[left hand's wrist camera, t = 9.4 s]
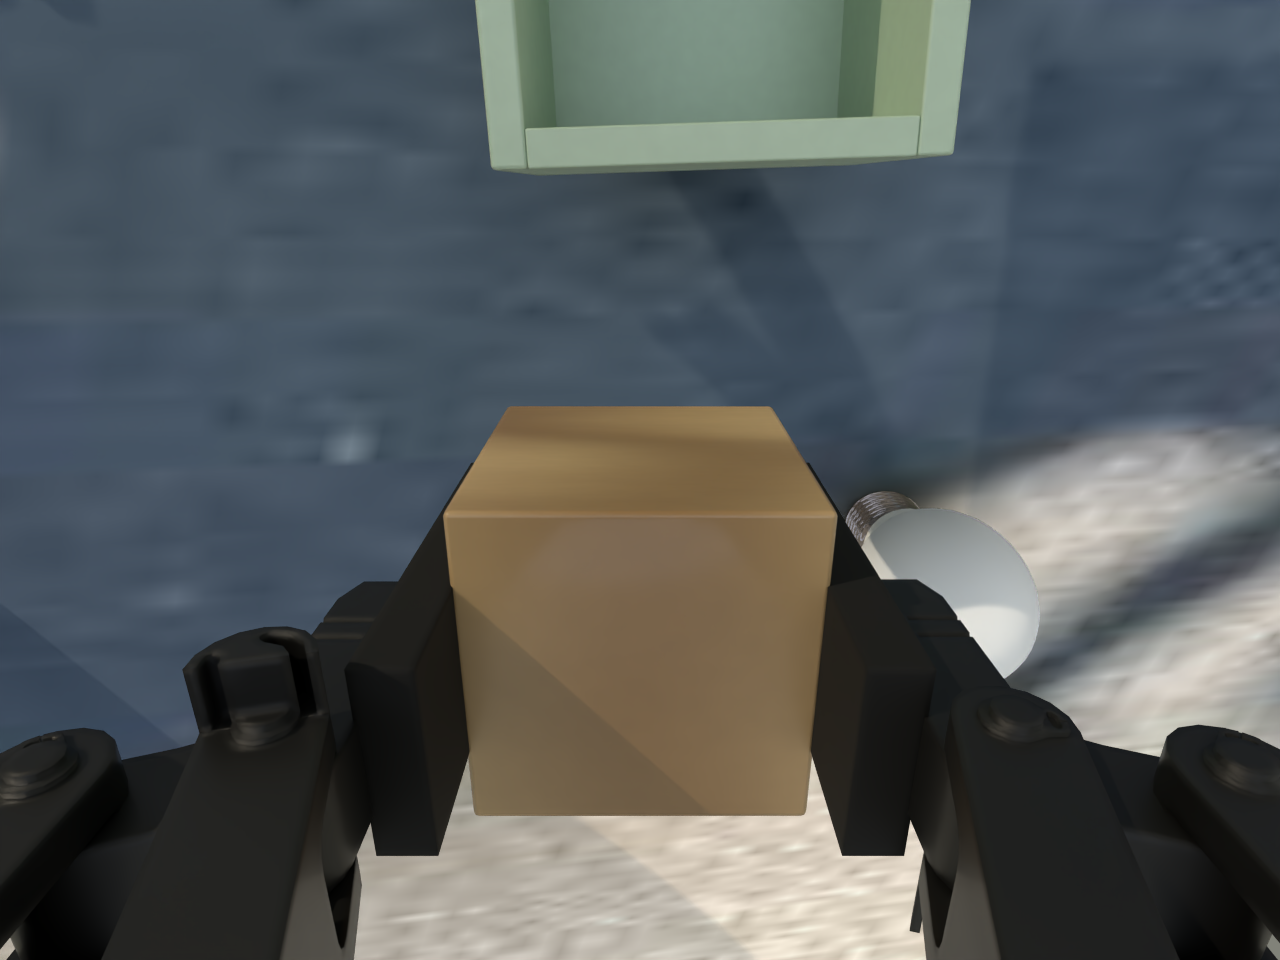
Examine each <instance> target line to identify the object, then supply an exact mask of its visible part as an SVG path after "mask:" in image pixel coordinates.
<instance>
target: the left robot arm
mask: <svg viewBox="0 0 1280 960" xmlns="http://www.w3.org/2000/svg"><path fill="white" fill-rule="evenodd" d="M473 464H474V463H471V464H470V466H469V467H468V469H467V471H466V472H465V474H464V476H463V477H462V479H461V480H460V482H459V484H458V485H457V487H456V489H455V490H454V492H453V493H452V495H451V497H450V498H449V500H448V502H447V503H446V505H445V506H444V508H443V510H442V511H441V513H440V515H439V516H438V518H437V519H436V521H435V523H434V524H433V526H432V528H431V529H430V531H429V532H428V534H427V536H426V537H425V539H424V541H423V542H422V544H421V545H420V547H419V549H418V550H417V552H416V554H415V555H414V557H413V558H412V560H411V562H410V563H409V565H408V567H407V568H406V570H405V571H404V573H403V575H402V576H401V578H400V580H399V581H398V582H363V583H361V584H360V585H358V586H357V587H355V588H354V589H352V590H351V591H349V592H348V593H346V594H345V595H343V596H342V597H340V598H339V599H338V600H337V601H336V602H335V604H334V605H333V607H332V608H331V609H330V611H329V612H328V613H327V615H326V616H325V617H324V622H323V623H320V624H319V626H318V627H317V628H316V630H315V631H314V632H313V634H312V635H310V634H309V633H308V632H307V631H305V630H300V629H296V628H292V627H263V628H258V629H254V630H249V631H244V632H240V633H237V634H234V635H232V636H229V637H227V638H224V639H222V640H219V641H217V642H215V643H213V644H211V645H210V646H208V647H207V648H205V649H204V650H202V651H201V652H199V653H197V654H196V655H195V656H194V657H193V658H192V659H191V660H190V661H189V663H188V664H187V665H186V666H185V667H184V668H183V669H182V670H183V674H184V677H185V681H186V685H187V689H188V692H189V696H190V700H191V703H192V707H193V711H194V715H195V718H196V722H197V726H198V729H199V733H200V734H199V736H198V738H197V741H196V743H195V744H192V745H188V746H184V747H181V748H177V749H172V750H167V751H163V752H158V753H153V754H148V755H144V756H139V757H134V758H129V759H125V760H121V757H120V754H119V751H118V748H117V745H116V742H115V739H113V738H112V737H111V736H110V735H108V734H107V733H106V732H104V731H101V730H94V729H88V728H79V729H71V730H63V731H56V732H52V733H48V734H44V735H43V736H37V737H35V738H32V739H29V740H26V741H24V742H22V743H21V744H19V745H17V746H15V747H13V748H11V749H9V750H7V751H5V752H2V753H0V949H1V948H2V947H3V945H4V944H5V943H6V942H7V941H8V939H9V938H11V940H12V943H13V945H14V947H15V950H14V951H13V952H12V954H11V955H10V956H9V957H8V958H7V960H354V953H355V943H356V934H357V925H358V915H359V906H360V897H361V887H362V883H361V877H360V870H359V864H358V859H357V853H358V851H359V848H360V846H361V844H362V841H363V839H364V837H365V834H366V832H367V830H368V827H369V825H370V822H371V827H372V833H373V839H374V844H375V850H376V856H438V855H439V852H440V848H441V845H442V842H443V839H444V835H445V832H446V829H447V825H448V822H449V819H450V815H451V812H452V809H453V805H454V802H455V799H456V795H457V792H458V789H459V786H460V782H461V779H462V776H463V772H464V769H465V766H466V762H467V759H468V756H469V752H470V750H469V741H468V731H467V722H466V712H465V702H464V693H463V683H462V674H461V664H460V654H459V645H458V635H457V626H456V616H455V607H454V597H453V587H451V585H450V577H449V567H448V558H447V548H446V539H445V529H444V520H443V515H444V512H445V510H446V509H447V507H448V505H449V504H450V502H451V500H452V499H453V497H454V495H455V494H456V492H457V490H458V489H459V487H460V486H461V484H462V482H463V481H464V479H465V477H466V476H467V474H468V472H469V471H470V469H471V467H472V466H473ZM806 464H807V465H808V467H809V469H810V470H811V472H812V473H813V475H814V477H815V478H816V480H817V482H818V483H819V485H820V486H821V488H822V490H823V491H824V493H825V495H826V496H827V498H828V499H829V501H830V503H831V504H832V506H833V508H834V509H835V511H836V513H837V516H838V517H837V526H836V535H835V545H834V554H833V563H832V573H831V582H830V586H828V592H827V601H826V611H825V620H824V630H823V639H822V649H821V658H820V668H819V677H818V687H817V696H816V706H815V715H814V725H813V735H812V744H811V754H812V757H813V761H814V764H815V767H816V771H817V774H818V777H819V781H820V784H821V787H822V790H823V794H824V797H825V800H826V804H827V807H828V810H829V814H830V817H831V820H832V824H833V827H834V830H835V833H836V837H837V840H838V843H839V847H840V850H841V853H842V856H904V853H905V848H906V842H907V836H908V830H909V825H910V820H911V822H912V825H913V827H914V829H915V832H916V834H917V836H918V839H919V841H920V843H921V846H922V848H923V850H924V854H923V859H922V864H921V870H920V875H919V880H918V886H917V891H916V896H915V902H914V907H913V912H912V918H911V925H910V931H912V932H917V933H920V928H921V923H923V932H924V941H925V951H926V960H1278V959H1277V958H1276V957H1275V956H1274V955H1273V953H1272V952H1271V951H1270V950H1269V948H1268V947H1267V944H1268V942H1269V940H1270V938H1271V935H1272V934H1273V935H1274V937H1275V938H1276V939H1277V940H1278V941H1279V943H1280V749H1278V748H1276V747H1274V746H1272V745H1270V744H1268V743H1266V742H1264V741H1262V740H1260V739H1258V738H1256V737H1254V736H1251V735H1248V734H1245V733H1239V732H1238V731H1235V730H1231V729H1226V728H1220V727H1212V726H1204V725H1193V726H1186V727H1179V728H1177V729H1176V730H1175V731H1173V732H1172V733H1171V734H1169V735H1168V736H1167V738H1166V741H1165V744H1164V747H1163V750H1162V753H1161V756H1160V757H1157V756H1152V755H1147V754H1143V753H1138V752H1133V751H1128V750H1124V749H1119V748H1114V747H1109V746H1104V745H1101V744H1097V743H1093V742H1090V741H1086V740H1084V739H1083V737H1082V735H1081V732H1080V731H1079V730H1078V728H1077V727H1076V726H1075V724H1074V723H1073V721H1072V720H1071V719H1070V717H1069V716H1067V715H1066V714H1065V713H1063V712H1062V711H1061V710H1059V709H1058V708H1057V707H1055V706H1054V705H1053V704H1051V703H1050V702H1047V701H1045V700H1043V699H1041V698H1039V697H1037V696H1034V695H1032V694H1030V693H1028V692H1024V691H1020V690H1016V689H1012V688H1010V686H1009V685H1008V684H1007V682H1006V681H1005V680H1004V678H1003V677H1002V676H1001V674H1000V673H999V671H998V670H997V669H996V667H995V666H994V665H993V663H992V662H991V661H990V659H989V658H988V657H987V655H986V654H985V653H984V651H983V650H982V649H981V647H980V646H979V645H978V643H977V642H976V640H975V639H974V638H973V637H970V632H969V631H968V630H967V628H966V627H965V626H964V624H963V623H962V622H961V620H958V619H957V615H956V614H955V612H954V611H953V610H952V608H951V607H950V605H949V604H948V603H947V601H946V600H945V599H944V597H943V596H941V595H940V594H938V593H937V592H935V591H934V590H932V589H931V588H929V587H928V586H926V585H925V584H923V583H922V582H920V581H919V580H917V579H880V577H879V575H878V574H877V572H876V570H875V569H874V567H873V566H872V564H871V562H870V561H869V559H868V558H867V556H866V554H865V553H864V551H863V549H862V548H861V546H860V545H859V543H858V541H857V540H856V538H855V536H854V535H853V533H852V532H851V530H850V528H849V527H848V525H847V523H846V522H845V520H844V519H843V517H842V515H841V514H840V512H839V510H838V509H837V507H836V506H835V504H834V502H833V501H832V499H831V497H830V496H829V494H828V493H827V491H826V489H825V488H824V486H823V485H822V483H821V481H820V480H819V478H818V476H817V475H816V473H815V472H814V470H813V468H812V467H811V465H810V463H806Z"/></svg>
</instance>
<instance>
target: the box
mask: <svg viewBox="0 0 1280 960" xmlns="http://www.w3.org/2000/svg"><path fill="white" fill-rule="evenodd" d="M970 3H971V0H475V4H476V14H477V24H478V35H479V45H480V55H481V66H482V76H483V86H484V97H485V107H486V118H487V128H488V138H489V149H490V159H491V166H492V168H493V169H494V170H498V171H507V172H515V173H524V174H532V175H565V174H595V173H625V172H656V171H686V170H716V169H746V168H776V167H806V166H836V165H857V164H866V163H876V162H886V161H896V160H906V159H916V158H925V157H935V156H945V155H951V154H952V153H953V151H954V142H955V134H956V125H957V116H958V108H959V99H960V90H961V81H962V73H963V64H964V55H965V47H966V38H967V29H968V20H969V12H970Z"/></svg>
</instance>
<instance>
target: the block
mask: <svg viewBox="0 0 1280 960" xmlns="http://www.w3.org/2000/svg"><path fill="white" fill-rule="evenodd" d="M837 517H838V516H837V513H836V511H835V509H834V508H833V506H832V504H831V503H830V501H829V499H828V498H827V496H826V495H825V493H824V491H823V490H822V488H821V486H820V485H819V483H818V482H817V480H816V478H815V477H814V475H813V473H812V472H811V470H810V469H809V467H808V465H807V464H806V462H805V461H804V459H803V457H802V456H801V454H800V452H799V451H798V449H797V448H796V446H795V444H794V443H793V441H792V439H791V438H790V436H789V435H788V433H787V431H786V430H785V428H784V426H783V425H782V423H781V422H780V420H779V418H778V417H777V415H776V414H775V412H774V410H773V409H772V408H771V407H572V406H511V407H509V408H507V410H506V412H505V413H504V415H503V416H502V418H501V420H500V421H499V423H498V425H497V426H496V428H495V430H494V431H493V433H492V435H491V436H490V438H489V439H488V441H487V443H486V444H485V446H484V448H483V449H482V451H481V453H480V454H479V456H478V458H477V459H476V461H475V462H474V464H473V466H472V467H471V469H470V471H469V472H468V474H467V476H466V477H465V479H464V481H463V482H462V484H461V486H460V487H459V489H458V490H457V492H456V494H455V495H454V497H453V499H452V500H451V502H450V504H449V505H448V507H447V509H446V510H445V512H444V515H443V520H444V529H445V539H446V548H447V558H448V567H449V577H450V585H451V587H453V597H454V607H455V616H456V626H457V635H458V645H459V654H460V664H461V674H462V683H463V693H464V702H465V712H466V722H467V731H468V741H469V750H470V752H469V756H468V758H469V768H470V777H471V787H472V797H473V806H474V812H475V814H476V815H479V816H801V815H804V814H805V812H806V807H807V797H808V788H809V779H810V769H811V760H812V754H811V744H812V735H813V725H814V715H815V706H816V696H817V687H818V677H819V668H820V658H821V649H822V639H823V630H824V620H825V611H826V601H827V592H828V586H830V582H831V573H832V563H833V554H834V545H835V535H836V526H837Z"/></svg>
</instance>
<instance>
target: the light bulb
mask: <svg viewBox="0 0 1280 960" xmlns="http://www.w3.org/2000/svg"><path fill="white" fill-rule="evenodd" d="M846 523H847V525H848V527H849V528H850V530H851V532H852V533H853V535H854V536H855V538H856V540H857V541H858V543H859V545H860V546H861V548H862V549H863V551H864V553H865V554H866V556H867V558H868V559H869V561H870V562H871V564H872V566H873V567H874V569H875V570H876V572H877V574H878V575H879V577H880V579H917V580H919V581H920V582H922V583H923V584H925V585H926V586H928V587H929V588H931V589H932V590H934V591H935V592H937V593H938V594H940V595H941V596H943V597H944V599H945V600H946V601H947V603H948V604H949V605H950V607H951V608H952V610H953V611H954V612H955V614H956V615H957V619H958V620H961V622H962V623H963V624H964V626H965V627H966V628H967V630H968V631H969V632H970V637H973V638H974V639H975V640H976V642H977V643H978V645H979V646H980V647H981V649H982V650H983V651H984V653H985V654H986V655H987V657H988V658H989V659H990V661H991V662H992V663H993V665H994V666H995V667H996V669H997V670H998V671H999V673H1000V674H1001V676H1002V677H1003V678H1006V677H1007V676H1009V675H1010V674H1011V673H1012V672H1014V671H1015V670H1016V669H1017V668H1018V667H1019V666H1020V665H1021V664H1022V663H1023V662H1024V661H1025V660H1026V658H1027V656H1028V655H1029V653H1030V652H1031V650H1032V648H1033V645H1034V643H1035V640H1036V636H1037V632H1038V627H1039V621H1040V610H1039V600H1038V593H1037V589H1036V586H1035V583H1034V580H1033V578H1032V576H1031V574H1030V571H1029V569H1028V567H1027V565H1026V564H1025V562H1024V561H1023V559H1022V558H1021V556H1020V555H1019V553H1018V552H1017V551H1016V550H1015V548H1014V547H1013V546H1012V545H1011V544H1010V543H1009V542H1008V541H1007V540H1006V539H1005V538H1004V537H1003V536H1002V535H1001V534H999V533H998V532H997V531H995V530H994V529H993V528H991V527H990V526H988V525H987V524H985V523H983V522H981V521H980V520H978V519H976V518H973V517H971V516H968V515H966V514H963V513H960V512H956V511H953V510H946V509H937V508H925V509H920V508H919V507H918V506H917V505H916V504H915V503H914V502H913V501H912V500H911V499H910V498H908V497H906V496H904V495H902V494H899V493H896V492H888V491H882V492H876V493H872V494H869V495H867V496H865V497H863V498H862V499H860V500H859V501H858V502H856V503H855V504H854V505H853V507H852V508H851V510H850V511H849V513H848V515H847V518H846Z"/></svg>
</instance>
